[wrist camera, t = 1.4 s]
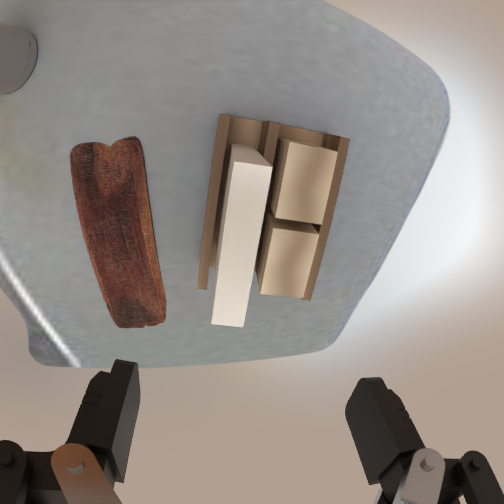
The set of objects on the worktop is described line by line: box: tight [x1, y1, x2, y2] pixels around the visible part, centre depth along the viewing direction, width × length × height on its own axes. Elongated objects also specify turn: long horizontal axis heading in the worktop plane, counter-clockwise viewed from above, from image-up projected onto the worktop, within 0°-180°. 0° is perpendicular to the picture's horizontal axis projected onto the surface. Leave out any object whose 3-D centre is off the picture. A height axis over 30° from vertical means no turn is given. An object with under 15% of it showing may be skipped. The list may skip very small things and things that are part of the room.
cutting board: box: [212, 144, 273, 327], centre depth 29 cm, size 2×12×16 cm, turn 171°
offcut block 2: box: [255, 206, 319, 298], centre depth 35 cm, size 4×7×8 cm, turn 171°
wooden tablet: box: [70, 137, 166, 328], centre depth 38 cm, size 26×2×10 cm
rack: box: [197, 114, 350, 300], centre depth 34 cm, size 13×18×7 cm
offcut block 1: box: [267, 138, 338, 225], centre depth 32 cm, size 4×7×8 cm, turn 171°
